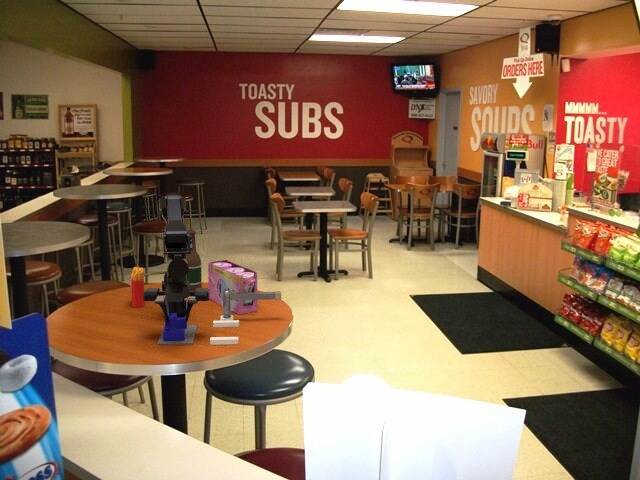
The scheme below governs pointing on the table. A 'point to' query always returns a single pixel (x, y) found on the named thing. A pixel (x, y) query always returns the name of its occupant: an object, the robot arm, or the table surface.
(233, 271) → the gum box
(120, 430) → the table surface
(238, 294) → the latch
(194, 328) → the mat
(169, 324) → the cable clip
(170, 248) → the robot arm
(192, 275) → the beer bottle
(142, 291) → the french fries
